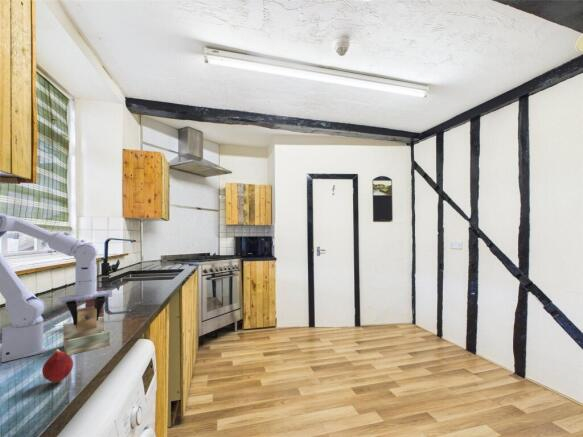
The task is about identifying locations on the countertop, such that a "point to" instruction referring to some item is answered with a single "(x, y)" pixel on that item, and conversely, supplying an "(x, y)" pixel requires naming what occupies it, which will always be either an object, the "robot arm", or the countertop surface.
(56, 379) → the onion
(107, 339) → the wooden cubby shelf
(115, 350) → the countertop surface
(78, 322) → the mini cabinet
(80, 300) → the robot arm
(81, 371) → the countertop surface
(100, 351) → the countertop surface
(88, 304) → the can
